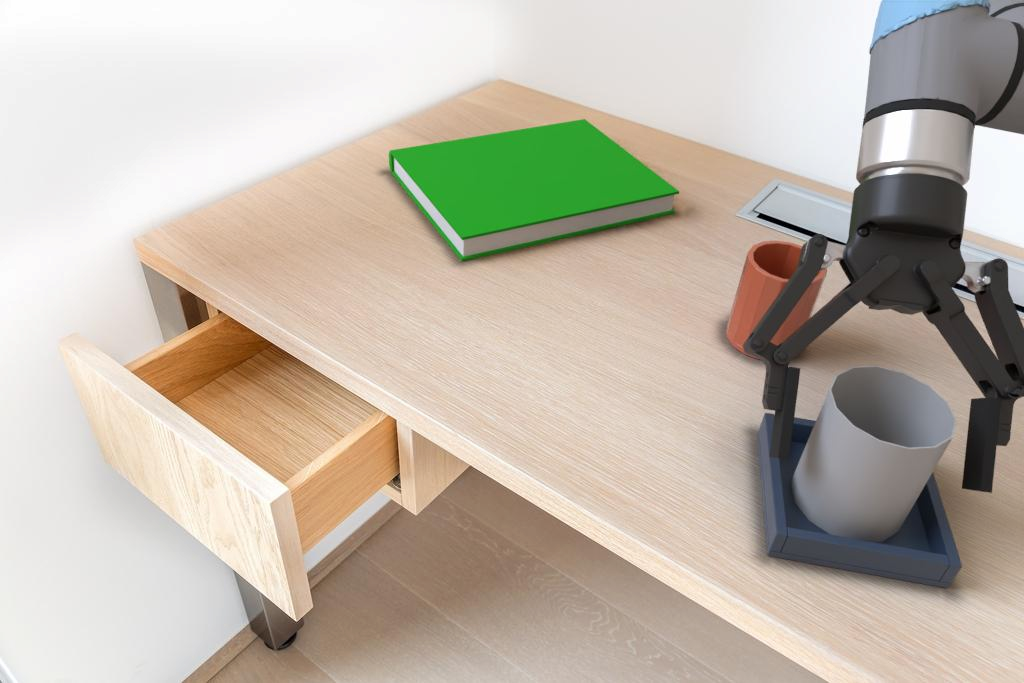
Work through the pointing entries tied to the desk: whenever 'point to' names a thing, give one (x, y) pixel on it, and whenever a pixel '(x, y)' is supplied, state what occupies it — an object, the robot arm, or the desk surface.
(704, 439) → the desk surface
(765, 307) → the tumbler
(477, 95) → the desk surface
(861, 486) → the cup
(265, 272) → the desk surface
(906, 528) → the tray
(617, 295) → the desk surface
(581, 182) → the book
